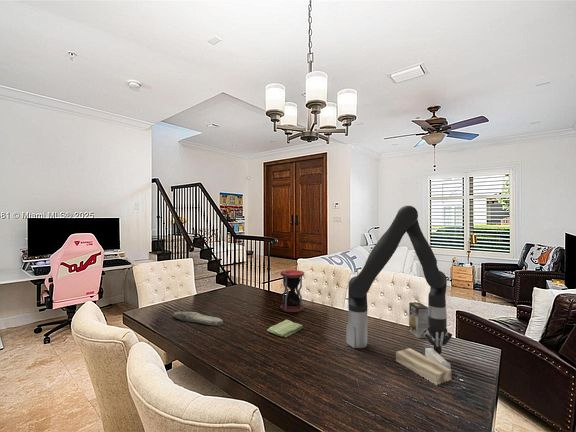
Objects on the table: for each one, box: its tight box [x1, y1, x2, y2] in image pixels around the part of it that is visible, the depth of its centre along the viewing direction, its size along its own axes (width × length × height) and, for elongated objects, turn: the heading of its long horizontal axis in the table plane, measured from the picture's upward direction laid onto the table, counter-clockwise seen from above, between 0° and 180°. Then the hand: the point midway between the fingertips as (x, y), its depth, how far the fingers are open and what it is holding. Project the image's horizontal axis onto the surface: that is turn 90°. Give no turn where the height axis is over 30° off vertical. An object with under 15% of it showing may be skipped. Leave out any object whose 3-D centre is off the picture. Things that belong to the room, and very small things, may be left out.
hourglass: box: [279, 269, 305, 313], centre depth 195 cm, size 16×16×25 cm
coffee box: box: [408, 301, 429, 339], centre depth 154 cm, size 9×6×16 cm
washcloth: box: [266, 319, 304, 339], centre depth 158 cm, size 13×18×3 cm
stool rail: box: [395, 348, 452, 386], centre depth 118 cm, size 8×20×4 cm, turn 25°
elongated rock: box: [172, 310, 224, 327], centre depth 171 cm, size 35×5×10 cm
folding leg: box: [421, 344, 452, 370], centre depth 123 cm, size 18×4×4 cm, turn 0°
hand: (437, 353), depth 129 cm, fingers closed
